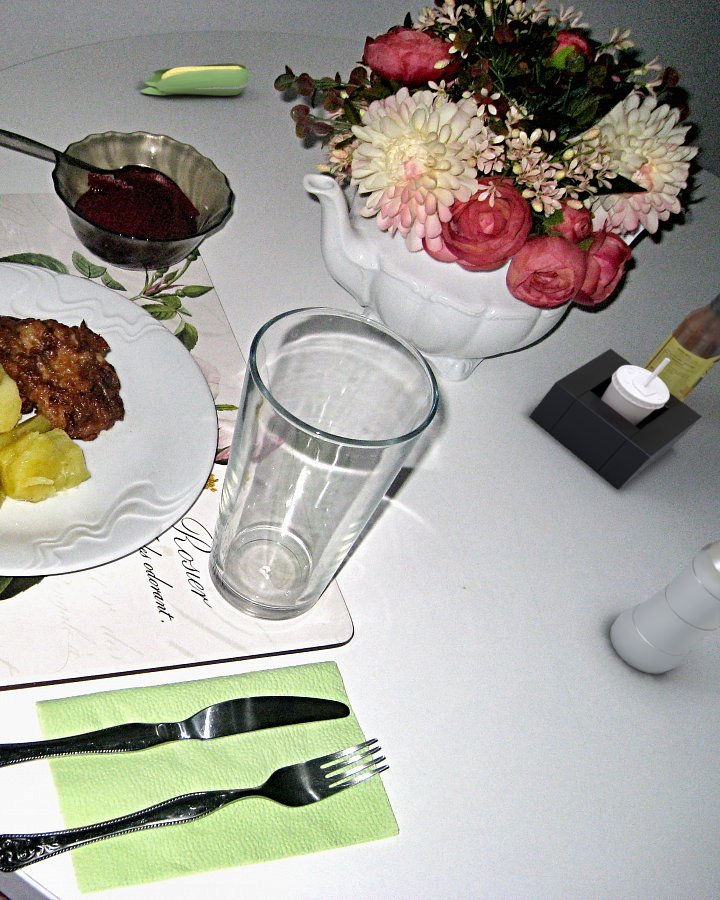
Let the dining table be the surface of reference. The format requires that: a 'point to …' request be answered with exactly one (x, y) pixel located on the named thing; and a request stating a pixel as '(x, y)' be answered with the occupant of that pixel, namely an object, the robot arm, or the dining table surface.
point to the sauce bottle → (690, 350)
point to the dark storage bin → (609, 423)
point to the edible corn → (199, 80)
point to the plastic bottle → (672, 617)
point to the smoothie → (636, 392)
